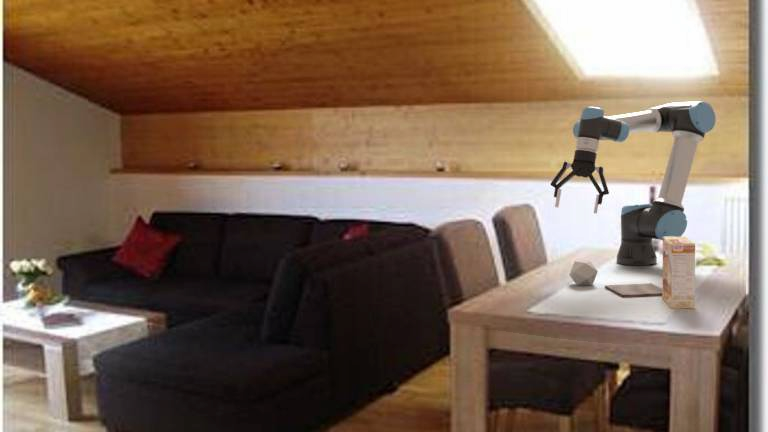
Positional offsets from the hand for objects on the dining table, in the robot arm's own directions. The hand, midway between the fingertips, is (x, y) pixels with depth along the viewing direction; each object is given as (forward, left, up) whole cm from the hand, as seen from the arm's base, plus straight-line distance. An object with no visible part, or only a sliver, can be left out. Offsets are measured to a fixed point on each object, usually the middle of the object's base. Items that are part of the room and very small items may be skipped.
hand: (575, 210), depth 285 cm
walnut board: (-12, +26, -25) cm, 38 cm away
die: (+1, +11, -25) cm, 27 cm away
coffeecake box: (-17, +45, -25) cm, 54 cm away
